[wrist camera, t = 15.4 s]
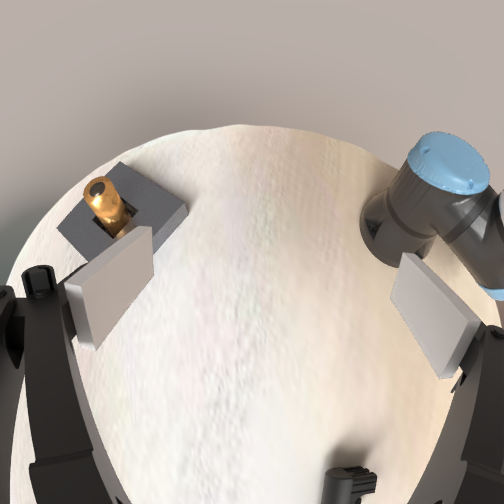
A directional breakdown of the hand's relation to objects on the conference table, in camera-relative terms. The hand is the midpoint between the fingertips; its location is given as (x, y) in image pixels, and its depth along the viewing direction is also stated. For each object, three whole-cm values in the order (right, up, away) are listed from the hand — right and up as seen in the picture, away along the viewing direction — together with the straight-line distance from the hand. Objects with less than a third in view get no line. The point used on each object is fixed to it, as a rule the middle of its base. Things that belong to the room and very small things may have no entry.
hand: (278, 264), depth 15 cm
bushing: (-25, +5, +36) cm, 44 cm away
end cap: (+12, -37, +19) cm, 43 cm away
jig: (-25, +5, +36) cm, 44 cm away
